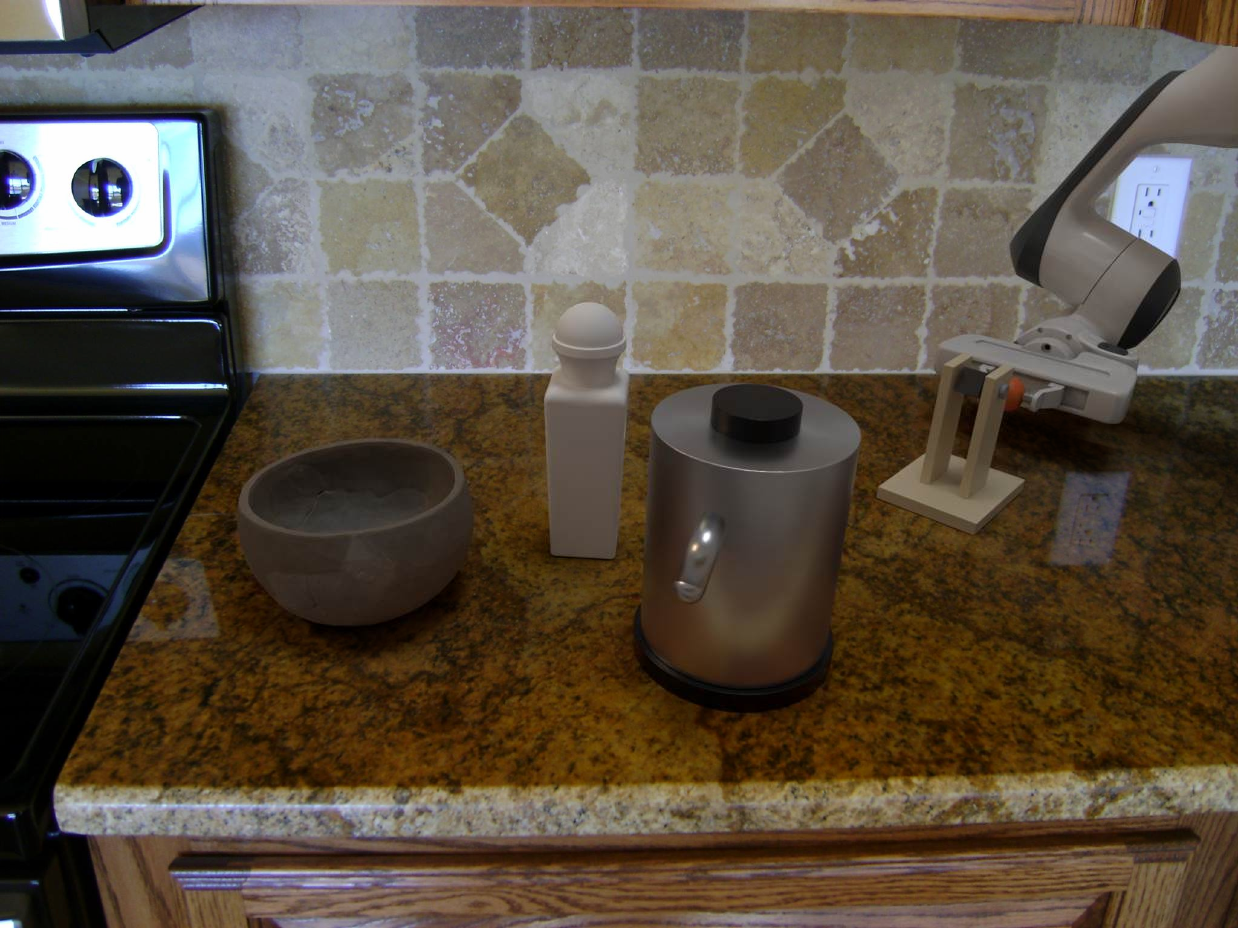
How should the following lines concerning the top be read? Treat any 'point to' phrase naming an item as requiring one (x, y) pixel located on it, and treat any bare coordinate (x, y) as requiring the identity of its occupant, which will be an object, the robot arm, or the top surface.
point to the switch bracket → (958, 459)
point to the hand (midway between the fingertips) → (1004, 396)
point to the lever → (974, 383)
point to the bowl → (356, 528)
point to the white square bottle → (586, 432)
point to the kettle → (743, 543)
